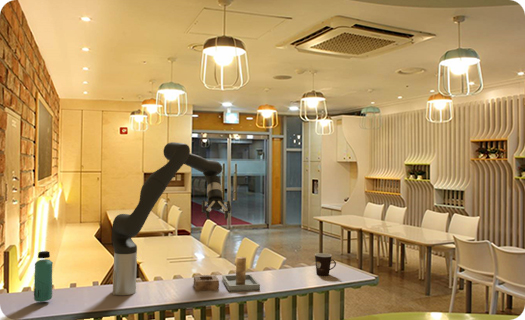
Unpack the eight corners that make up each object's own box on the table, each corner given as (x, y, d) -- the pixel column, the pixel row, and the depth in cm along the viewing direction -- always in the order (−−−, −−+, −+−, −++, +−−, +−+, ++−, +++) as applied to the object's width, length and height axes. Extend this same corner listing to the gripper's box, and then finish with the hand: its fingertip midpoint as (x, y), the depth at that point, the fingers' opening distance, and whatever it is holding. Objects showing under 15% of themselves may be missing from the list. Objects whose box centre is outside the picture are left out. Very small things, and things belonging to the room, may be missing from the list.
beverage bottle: (55, 300, 170) (56, 250, 170) (47, 306, 163) (48, 253, 163) (38, 299, 170) (39, 249, 170) (29, 305, 163) (31, 253, 163)
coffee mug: (311, 272, 224) (312, 253, 224) (326, 271, 226) (327, 252, 226) (321, 278, 213) (321, 258, 213) (336, 277, 215) (337, 257, 215)
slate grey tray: (229, 291, 188) (229, 285, 188) (222, 280, 204) (222, 275, 204) (259, 290, 191) (260, 284, 191) (250, 279, 208) (250, 274, 208)
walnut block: (196, 290, 187) (196, 281, 187) (193, 284, 197) (193, 275, 197) (218, 289, 190) (218, 280, 190) (215, 283, 200) (215, 274, 200)
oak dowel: (236, 285, 195) (237, 259, 195) (234, 282, 199) (235, 256, 199) (246, 285, 196) (247, 258, 196) (244, 282, 200) (244, 256, 200)
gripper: (201, 188, 215) (203, 213, 204) (229, 188, 219) (232, 213, 208) (200, 197, 220) (201, 223, 209) (227, 198, 224) (230, 223, 213)
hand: (217, 218), depth 208 cm, fingers open, 8 cm apart
